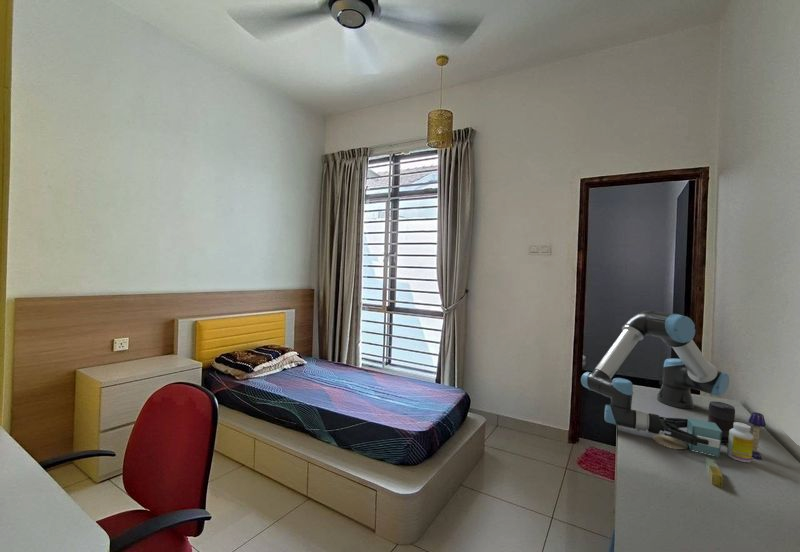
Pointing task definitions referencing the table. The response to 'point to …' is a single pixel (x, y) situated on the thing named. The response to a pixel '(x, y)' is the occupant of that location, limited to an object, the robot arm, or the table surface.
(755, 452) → the toy lamp
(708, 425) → the teal cube
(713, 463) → the medication box
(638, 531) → the table surface
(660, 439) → the coaster
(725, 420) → the camera lens
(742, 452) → the supplement bottle
